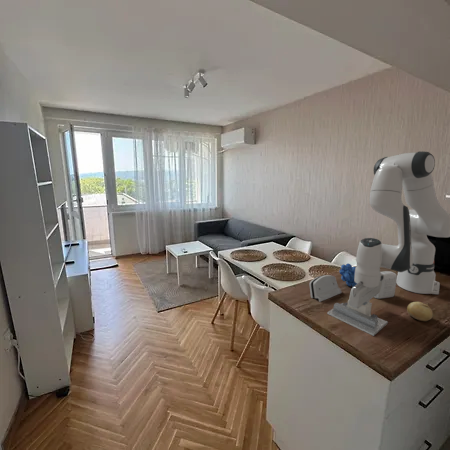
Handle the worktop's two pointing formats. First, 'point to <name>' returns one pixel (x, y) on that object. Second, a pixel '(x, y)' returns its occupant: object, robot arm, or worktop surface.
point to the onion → (420, 311)
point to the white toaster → (324, 287)
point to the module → (363, 308)
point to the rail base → (380, 323)
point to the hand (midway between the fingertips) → (363, 309)
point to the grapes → (348, 274)
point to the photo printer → (387, 285)
